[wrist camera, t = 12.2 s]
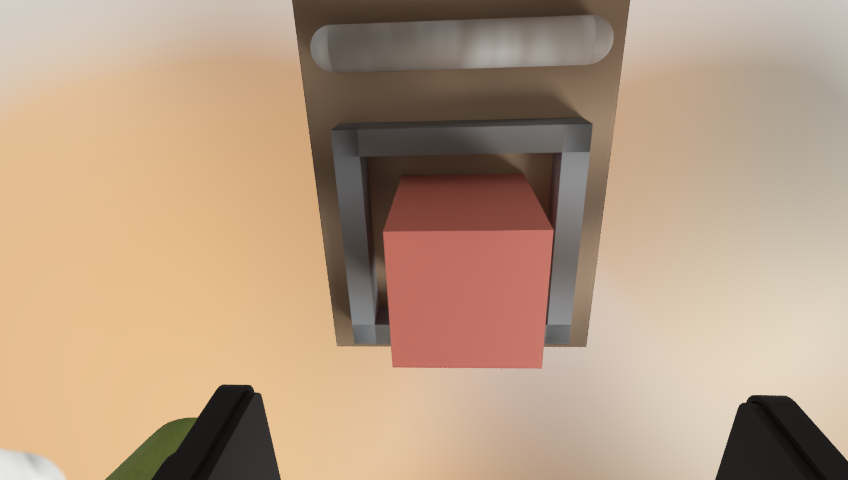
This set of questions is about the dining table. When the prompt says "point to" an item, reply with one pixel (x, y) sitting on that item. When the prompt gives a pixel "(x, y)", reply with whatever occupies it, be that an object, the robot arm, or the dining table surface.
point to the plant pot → (153, 451)
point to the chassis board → (459, 129)
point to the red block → (467, 272)
